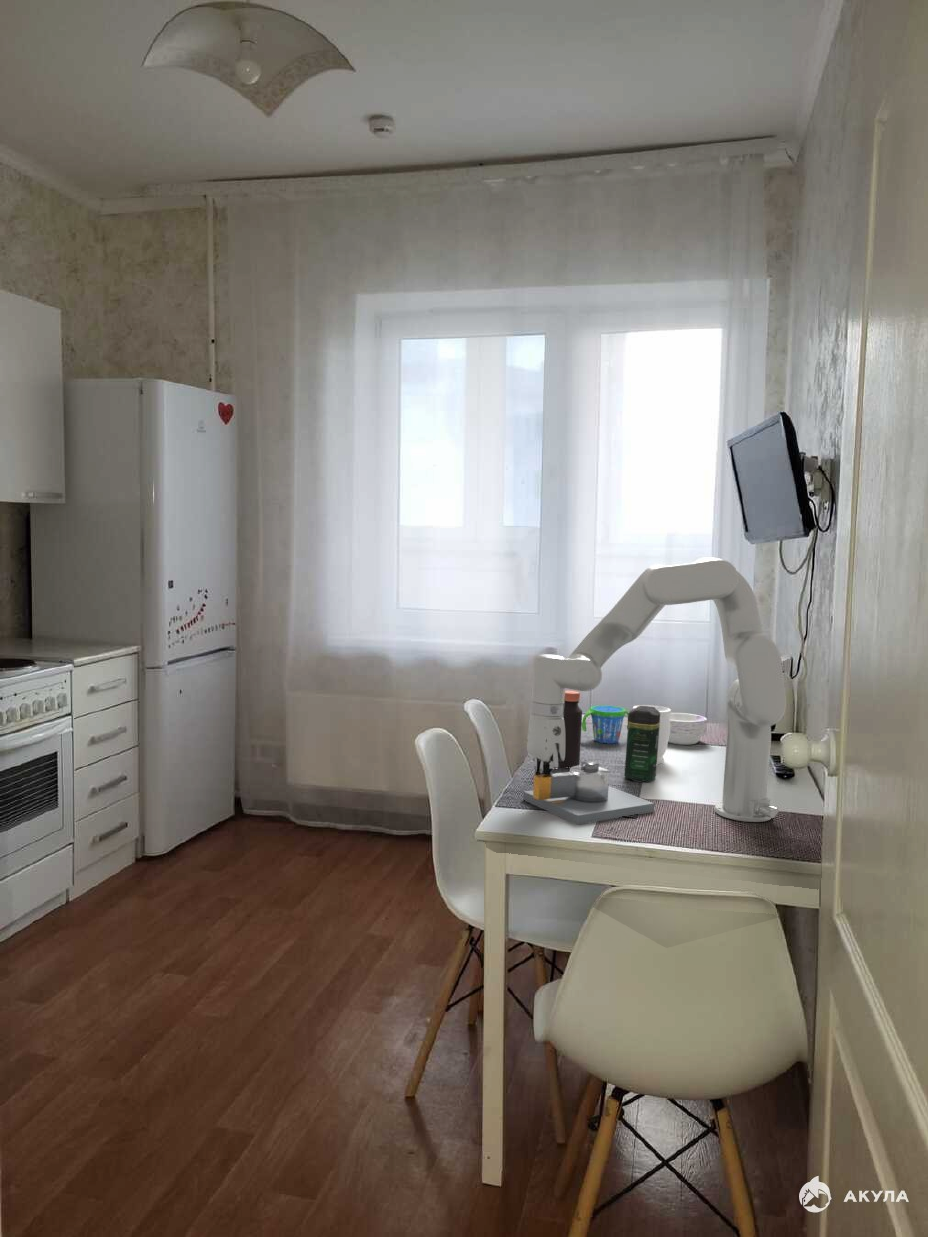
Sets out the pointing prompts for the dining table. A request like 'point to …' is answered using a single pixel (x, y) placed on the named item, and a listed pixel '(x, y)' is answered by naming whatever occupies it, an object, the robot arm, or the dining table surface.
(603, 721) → the snack cup
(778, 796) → the dining table surface
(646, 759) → the coffee jar
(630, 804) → the mounting board
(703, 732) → the white round hollow piece
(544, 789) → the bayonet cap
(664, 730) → the white cup
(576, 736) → the bottle
